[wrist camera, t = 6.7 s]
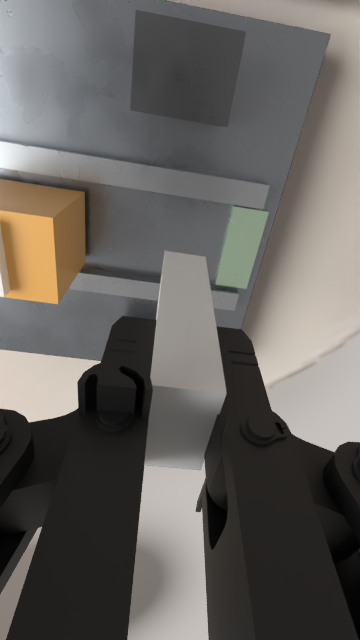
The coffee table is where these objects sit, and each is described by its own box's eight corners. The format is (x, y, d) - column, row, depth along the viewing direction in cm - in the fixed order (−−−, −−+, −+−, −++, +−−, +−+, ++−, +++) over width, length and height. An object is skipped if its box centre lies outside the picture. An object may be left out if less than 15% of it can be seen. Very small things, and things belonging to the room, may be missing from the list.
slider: (-14, 176, 17) (-91, 202, 12) (84, 191, 17) (47, 222, 12) (-2, 250, 19) (-63, 296, 14) (85, 262, 19) (54, 310, 14)
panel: (-68, -32, 15) (-184, -99, 10) (311, 44, 16) (363, 16, 11) (-1, 327, 25) (-41, 375, 21) (223, 354, 27) (231, 405, 22)
